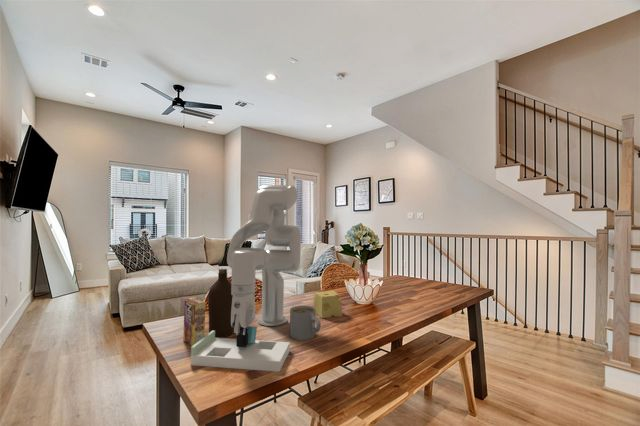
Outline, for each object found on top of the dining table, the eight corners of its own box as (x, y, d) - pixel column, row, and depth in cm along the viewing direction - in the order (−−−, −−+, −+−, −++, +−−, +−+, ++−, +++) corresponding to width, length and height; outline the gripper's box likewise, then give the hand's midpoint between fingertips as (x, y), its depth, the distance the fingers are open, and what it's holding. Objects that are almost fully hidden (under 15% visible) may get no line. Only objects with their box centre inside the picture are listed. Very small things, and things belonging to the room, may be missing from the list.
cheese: (342, 316, 141) (342, 295, 141) (320, 319, 137) (321, 297, 137) (333, 310, 150) (333, 290, 150) (313, 312, 146) (313, 291, 146)
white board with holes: (212, 346, 106) (212, 330, 106) (289, 351, 103) (289, 335, 103) (190, 365, 92) (190, 347, 92) (279, 371, 89) (279, 353, 89)
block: (241, 341, 103) (243, 325, 105) (255, 342, 103) (257, 326, 104) (235, 342, 98) (238, 325, 100) (250, 342, 98) (252, 326, 100)
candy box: (205, 344, 108) (206, 301, 108) (193, 347, 104) (194, 303, 105) (194, 337, 114) (195, 296, 114) (182, 340, 111) (183, 299, 111)
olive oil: (205, 339, 112) (207, 272, 112) (208, 329, 122) (210, 267, 123) (235, 337, 114) (236, 271, 115) (235, 327, 125) (237, 267, 125)
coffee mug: (284, 334, 118) (285, 308, 118) (304, 328, 125) (305, 304, 125) (305, 345, 108) (306, 317, 108) (326, 338, 115) (326, 311, 115)
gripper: (246, 294, 89) (244, 357, 89) (261, 284, 104) (260, 337, 104) (222, 293, 90) (220, 355, 90) (240, 283, 105) (239, 336, 105)
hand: (242, 345), depth 97 cm, fingers closed
